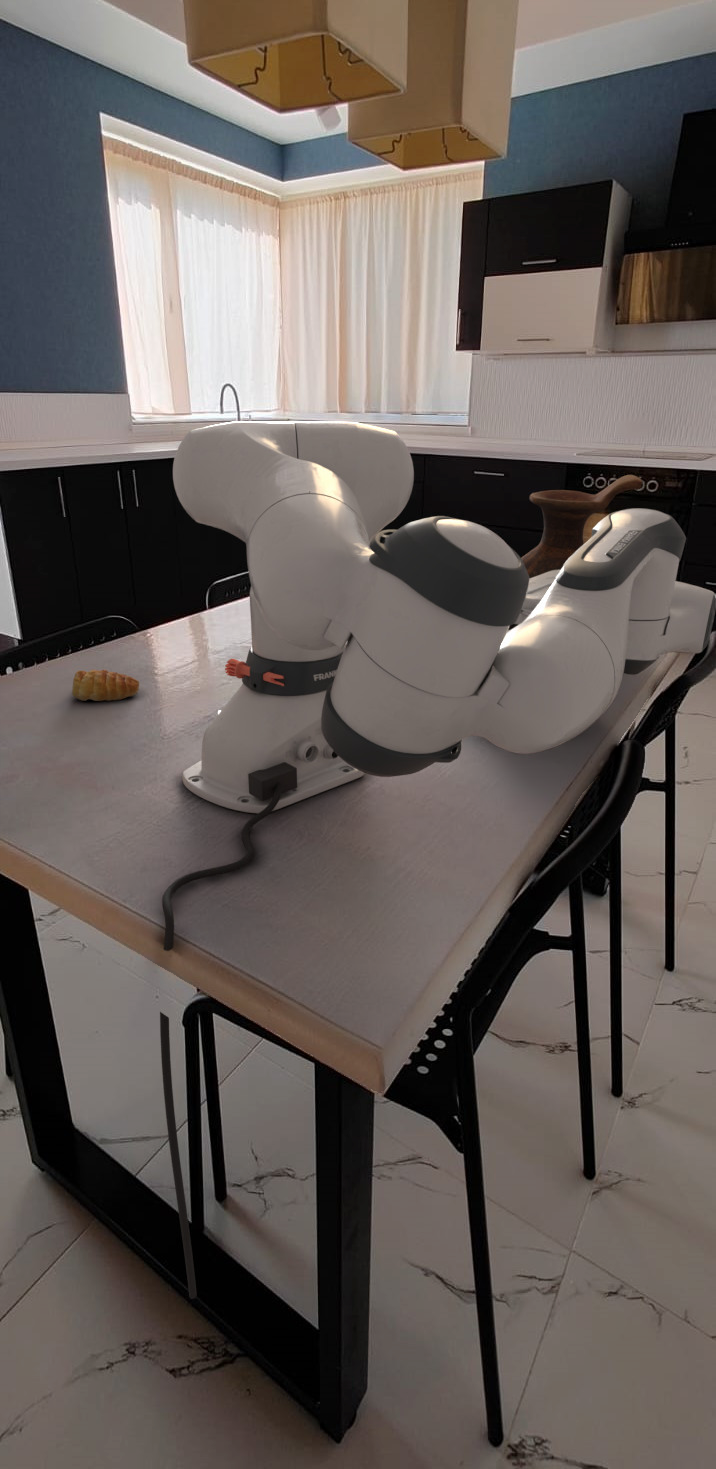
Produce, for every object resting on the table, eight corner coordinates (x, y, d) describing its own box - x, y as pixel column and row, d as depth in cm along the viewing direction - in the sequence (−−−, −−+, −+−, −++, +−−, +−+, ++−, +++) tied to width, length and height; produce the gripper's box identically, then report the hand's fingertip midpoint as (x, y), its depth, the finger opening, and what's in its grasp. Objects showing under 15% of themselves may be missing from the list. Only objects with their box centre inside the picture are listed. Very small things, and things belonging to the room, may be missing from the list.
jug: (562, 669, 129) (585, 482, 117) (465, 641, 144) (477, 472, 132) (632, 646, 142) (658, 475, 130) (536, 622, 157) (552, 467, 145)
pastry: (143, 686, 119) (140, 663, 118) (135, 702, 113) (132, 678, 112) (81, 688, 119) (78, 664, 117) (70, 704, 113) (66, 679, 111)
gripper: (549, 643, 95) (452, 624, 102) (609, 611, 110) (521, 597, 117) (554, 592, 92) (455, 577, 100) (616, 567, 107) (525, 555, 115)
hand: (491, 587), depth 109 cm, fingers closed
